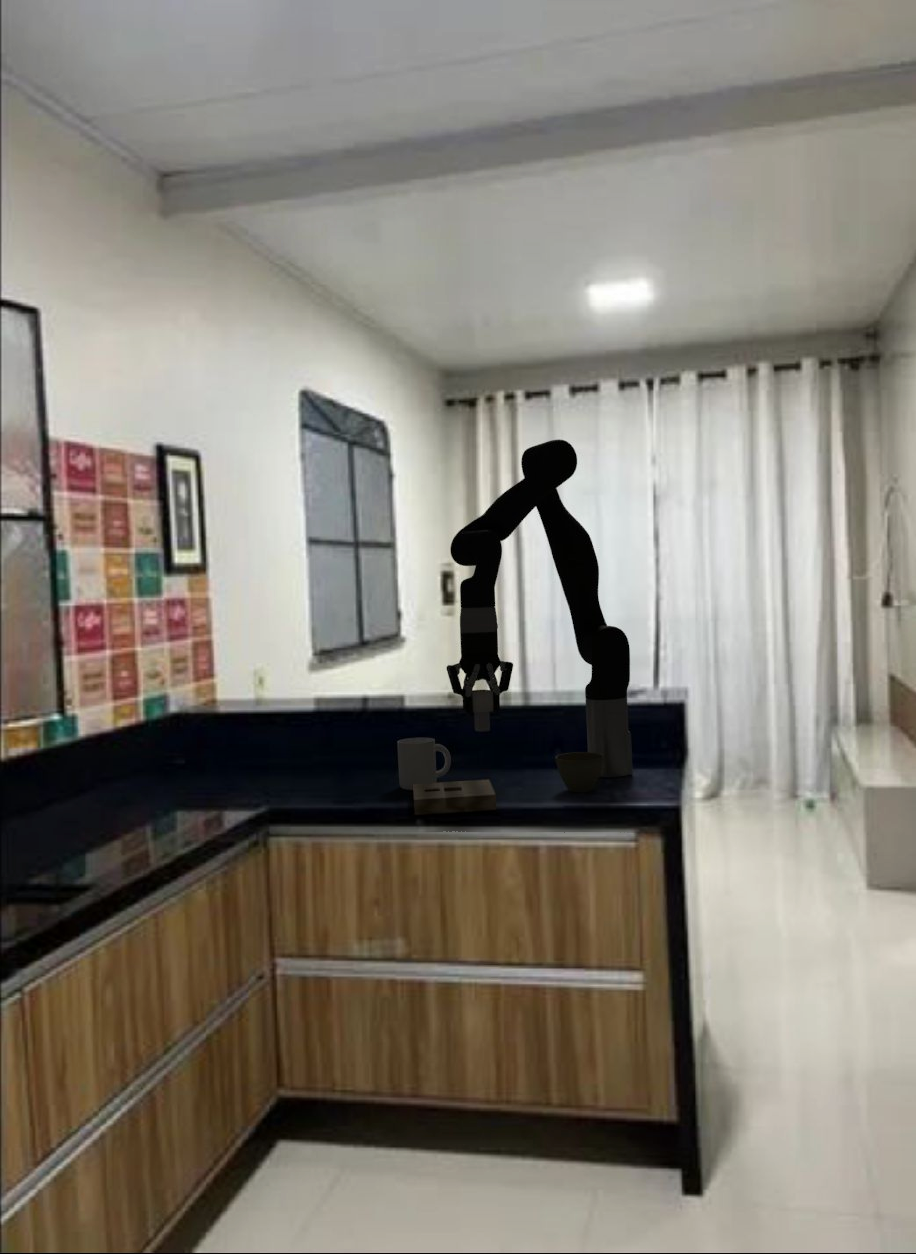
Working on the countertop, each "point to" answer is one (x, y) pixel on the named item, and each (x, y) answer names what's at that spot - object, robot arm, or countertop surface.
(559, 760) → the yellowish brown bowl
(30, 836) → the countertop surface
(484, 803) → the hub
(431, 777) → the mug
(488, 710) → the knob
